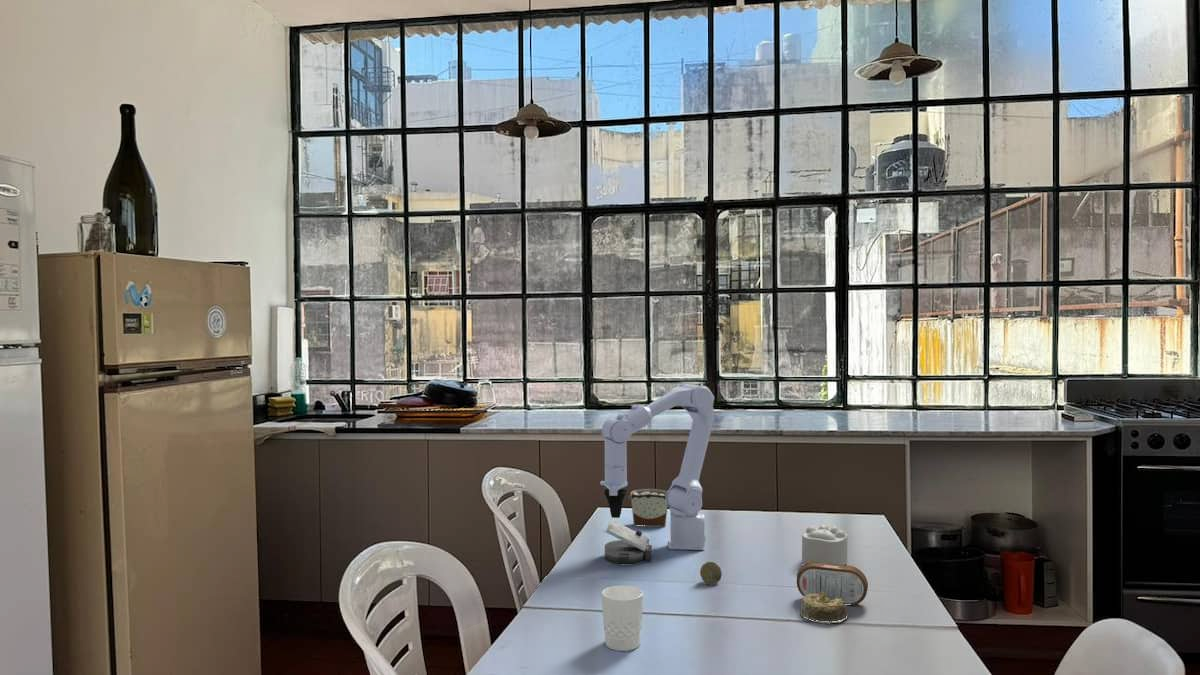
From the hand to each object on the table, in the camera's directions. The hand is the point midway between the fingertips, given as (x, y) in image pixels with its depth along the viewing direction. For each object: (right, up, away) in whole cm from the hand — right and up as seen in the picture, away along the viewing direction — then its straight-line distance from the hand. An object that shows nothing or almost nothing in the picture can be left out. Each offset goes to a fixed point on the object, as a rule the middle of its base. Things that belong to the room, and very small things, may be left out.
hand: (615, 517), depth 205 cm
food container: (+11, -10, +33) cm, 36 cm away
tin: (+47, -12, -32) cm, 58 cm away
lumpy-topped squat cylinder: (+53, -11, -4) cm, 55 cm away
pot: (+3, -10, -1) cm, 11 cm away
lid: (+3, -5, -1) cm, 6 cm away
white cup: (0, -12, -54) cm, 55 cm away
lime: (+22, -11, -20) cm, 31 cm away
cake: (+43, -12, -39) cm, 59 cm away
